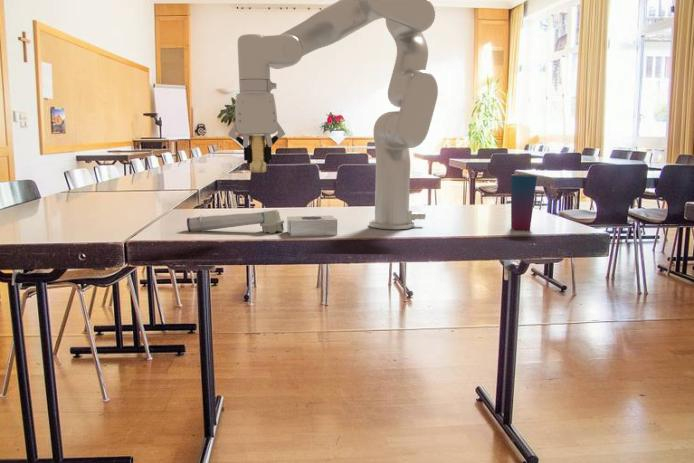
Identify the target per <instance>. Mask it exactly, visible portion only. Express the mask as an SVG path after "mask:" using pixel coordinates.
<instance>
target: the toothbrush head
mask: <svg viewBox="0 0 694 463" xmlns="http://www.w3.org/2000/svg"><path fill="white" fill-rule="evenodd" d="M284 224H285V219H284V218H283V219H282V217H281V215H280V211H279V210H278V209H277V208H273V209H267V210H264V211H258V212H244V213H230V214H229V213H228V214H216V215H215V214H214V215H203V214H200V215H199V216H195V217H188V218H187V219H186V227H187V230H188V232H189V233H190V232H192V233H193V232H198V233H199V232H202V233H204V232H205V231H212V230H219V229H228V228H233V227H234V228H235V227H236V228H237V227H241V226H250V225H260V227H262V229H261V230H262V232H263V233H264V234H267V233H269V234H274V233H276V232H279V233H280V232H283V231H284V230H285V226H284Z"/></svg>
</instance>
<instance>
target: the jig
mask: <svg viewBox="0 0 694 463" xmlns="http://www.w3.org/2000/svg"><path fill="white" fill-rule="evenodd" d="M286 232H287V233H288V235H289V236H290V237H314V236H315V237H317V236H338V218H336V217H334V216H332V215H308V216H307V215H305V216H304V215H302V216H301V215H300V216H296V215H295V216H286Z"/></svg>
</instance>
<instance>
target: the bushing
mask: <svg viewBox="0 0 694 463" xmlns="http://www.w3.org/2000/svg"><path fill="white" fill-rule="evenodd" d="M248 145H249V148H250V159H251V163H250V164H249V172H250V173H266V172H267V163H266V152H265V147H266V140H265V135H249V141H248Z"/></svg>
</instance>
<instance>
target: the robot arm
mask: <svg viewBox="0 0 694 463" xmlns="http://www.w3.org/2000/svg"><path fill="white" fill-rule="evenodd" d="M435 18H436V10H435V7H434V5H433V3H432V2H431V1H430V0H338V1H335V2H333V3H332V4H330V5H328V6H327V7H325V8H323V9H321V10H319V11H317V12H316V13H314V14H313V15H311V16H310V17H309V18H307V19H306V20H303V21H302V22H301V23H299V24H296V25H295V26H293V27H291V28H289V29H287V30H286V31H284V32H282V33H280V34H275V35H263V34H259V33H258V34H256V33H254V34H253V33H249V34H242V35H240V36H239V37H238V39H237V57H238V58H237V59H238V60H237V61H238V62H237V64H238V79H239V80H238V83H239V84H238V85H239V86H238V87H239V88H238V89H239V93H236V96H235V104H234V105H235V106H234V124H233V126H232V127H231V128H230V131H229V132H228V134H227V135H228V136H229V137H230V138H231V139H234V140H235V141H237V143H239V144H240V145H241V146H242V147H243V160H244V161H246V164H247V165H250V163H251V159H250V148H249V135H265V152H266V164H269V163H270V161H272V158H273V157H272V147H273V146H274V145H275V143H276V142H277V141H278V140H280V139H281V138H283V137H284V136H285V135H286V132H285V131H284V129H283V128H282V126H281V125H280V124H279V122H278V115H277V113H278V112H277V105H276V100H275V95H274V93H271V92H272V90H274V89H277V83H276V82H272V81H271V69H274V70H282V69H285V68H289V67H293V66H294V65H297V64H298V63H299V62H300V61H301V60H302V58H303V57H304V56H307V55H308V54H310V53H312V52H314V51H316V50H318V49H322V48H325V47H328V46H332V45H333V44H335V43H338V42H340V41H341V40H343V39H345V38H346V37H348V36H350V35H351V34H353V33H355V32H357V31H359V30H360V29H362V28H364V27H366V26H367V25H369V24H371V23H373V22H375V21H378V20H380V19H385V25H386V28H387V30H388V32H389V33H390V36H392V38H393V41H394V42H395V46H396V57H395V63H394V65H393V70H392V73H391V76H390V81H389V85H388V89H387V97H388V98H387V99H388V100H389V102H390V104H391V105H393V106H394V107H397V108H399V110H396V111H387V112H385V113H383V114H381V115H380V116H379V117H378V118H377V119H376V120H375V123H374V126H373V140H374V147H375V183H374V184H375V185H374V187H375V188H374V192H375V194H374V219H372V220H369V222H368V224H369V226H370V227H371V228H374V229H381V230H409V229H412V228H414V227H415V222H414V221H415V220H426V213H425V212H415V211H413V210H411V209H410V186H411V181H410V180H411V157H410V151H409V149H413V148H416V147H419V146H420V145H422V143H423V142H424V140H426V138H427V135H428V133H429V130H430V127H431V123H432V119H433V117H434V111H435V109H436V104H437V100H438V94H439V93H438V92H439V90H438V89H439V88H438V82H437V80H436V78H435V77H434V75H433V74H432V73H431V72H430V71H427V70H426V68H427V64H428V61H429V60H428V59H429V48H428V43H427V41H426V39H425V36H424V34H423V32H425V31H427V30H428V29H429V28H430V27H431V26H432V25H433V23H434V22H435ZM236 133H237V134H236ZM238 134H239V135H242V137H241V136H239V135H238ZM274 134H275V135H274ZM272 135H273V136H272ZM271 136H272V137H271Z"/></svg>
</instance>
